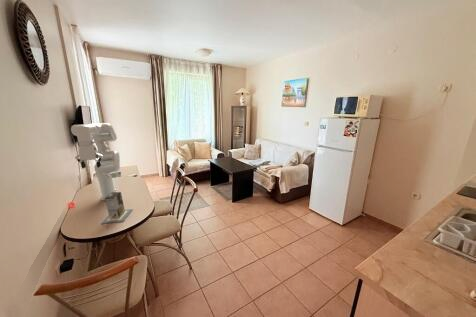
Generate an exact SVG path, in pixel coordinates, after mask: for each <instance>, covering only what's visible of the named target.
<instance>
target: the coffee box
mask: <svg viewBox="0 0 476 317" xmlns="http://www.w3.org/2000/svg"><path fill="white" fill-rule="evenodd" d="M105 204H106V205H105V206H106V209H107V214H108V215H109V218H110V219H119V218H120V217H121V216H122V215H123V213H124V212H125V210H126V209H125V205H124V201H123V195H122V192H121V191H117V192H116V191H115V192H112V193H111V194H109V195H108V196H107V197H106V198H105Z"/></svg>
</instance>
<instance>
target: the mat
mask: <svg viewBox="0 0 476 317" xmlns="http://www.w3.org/2000/svg"><path fill="white" fill-rule="evenodd" d="M133 210H134V209H133V208H130V209H125V212H124V213H123V215H122V216H121V217H120V218H119V219H110V218H109V214H108V215H107V216H106V218H105V219H104V220H103V221H101V223H100V225H105V223H107V224H117V223H124V222H125V220H126V219H127V218H128V217H129V215H130V214H131V213H132V211H133Z"/></svg>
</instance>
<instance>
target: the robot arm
mask: <svg viewBox="0 0 476 317" xmlns="http://www.w3.org/2000/svg"><path fill="white" fill-rule="evenodd" d="M70 132H71V134H72V135H73V136H75V137H77V142H78V155H76V156H74V158H75V160H76V161H77V162H79V163H80V167H81V168H82V169H85V168H87V165H86V161H92V160H93V161H96V163H95V164H94V168H93V169H94V171H95V174H96V176H97V180H98V184H99V187H100V193H101V196H100V200H101V201H105V198H106V197H107V196H108V195H109V194H111V193H112V192H116V191H117V189H116V188H115V185H114V180H113V177H112V175H110V173H111V174H112V173H117V172H119V171H120V169H121V168H120V167H121V165H120V164H121V163H120V160H121V158H120V153H119V151H118V150H110V149H111V148H110V147H109V145H108V144H106V143H109V142H115V141H117V139H118V138H117V134H116V132H115V129H114V127H113V125H112V124H110V123H109V122H101V123H99V122H97V123H84V124H73V125H71V127H70ZM105 202H106V201H105Z"/></svg>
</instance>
